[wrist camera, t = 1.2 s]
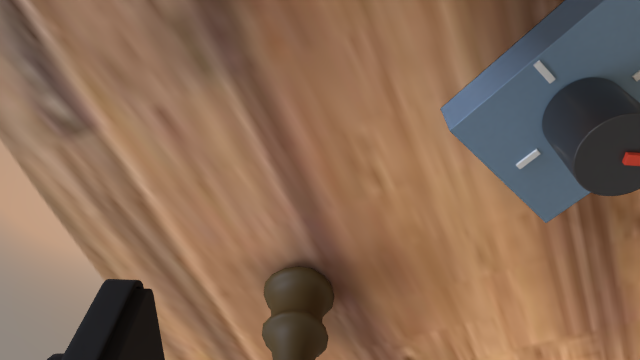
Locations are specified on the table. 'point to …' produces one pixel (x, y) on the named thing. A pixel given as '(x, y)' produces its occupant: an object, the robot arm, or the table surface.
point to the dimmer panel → (545, 96)
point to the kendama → (297, 313)
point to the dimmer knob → (596, 135)
